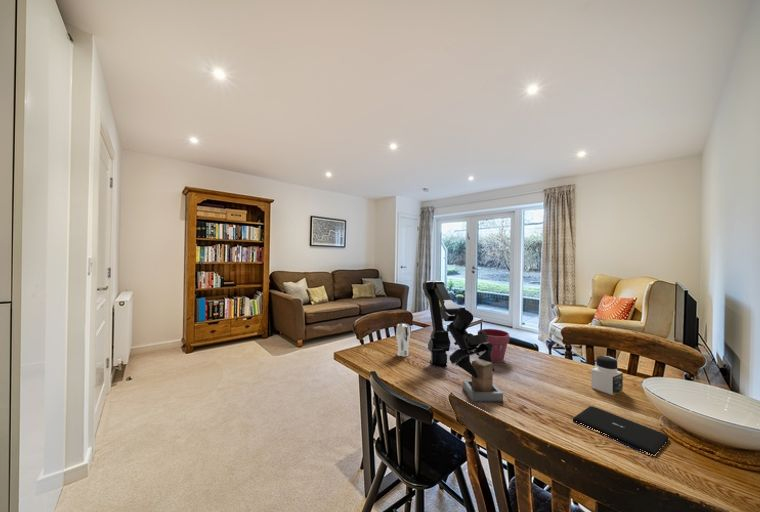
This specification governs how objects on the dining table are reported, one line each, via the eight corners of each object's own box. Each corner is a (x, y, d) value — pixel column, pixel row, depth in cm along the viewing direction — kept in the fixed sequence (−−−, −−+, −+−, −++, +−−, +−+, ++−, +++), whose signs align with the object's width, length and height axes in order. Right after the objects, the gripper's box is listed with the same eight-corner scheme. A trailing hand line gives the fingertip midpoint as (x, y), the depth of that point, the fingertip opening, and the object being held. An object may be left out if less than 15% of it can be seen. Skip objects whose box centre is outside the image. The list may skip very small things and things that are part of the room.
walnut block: (471, 392, 102) (471, 361, 102) (480, 388, 105) (480, 358, 105) (483, 397, 98) (483, 366, 98) (492, 394, 100) (492, 363, 100)
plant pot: (472, 358, 136) (472, 332, 136) (484, 351, 147) (484, 327, 147) (503, 366, 127) (503, 338, 127) (513, 358, 137) (513, 332, 137)
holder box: (472, 402, 96) (472, 393, 96) (462, 388, 106) (463, 380, 106) (503, 402, 96) (503, 393, 96) (490, 387, 106) (490, 379, 106)
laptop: (647, 463, 68) (647, 455, 68) (564, 419, 87) (564, 413, 87) (679, 446, 75) (679, 438, 75) (595, 408, 93) (595, 402, 93)
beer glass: (411, 353, 144) (411, 324, 144) (408, 358, 137) (408, 327, 137) (398, 351, 146) (398, 322, 146) (394, 356, 139) (394, 326, 139)
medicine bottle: (613, 396, 100) (613, 362, 100) (590, 387, 107) (590, 355, 107) (623, 391, 104) (623, 358, 104) (600, 383, 110) (600, 352, 110)
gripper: (455, 327, 99) (482, 369, 90) (488, 320, 109) (515, 358, 100) (439, 344, 106) (462, 384, 97) (472, 336, 116) (496, 372, 107)
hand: (485, 374), depth 100 cm, fingers open, 9 cm apart
